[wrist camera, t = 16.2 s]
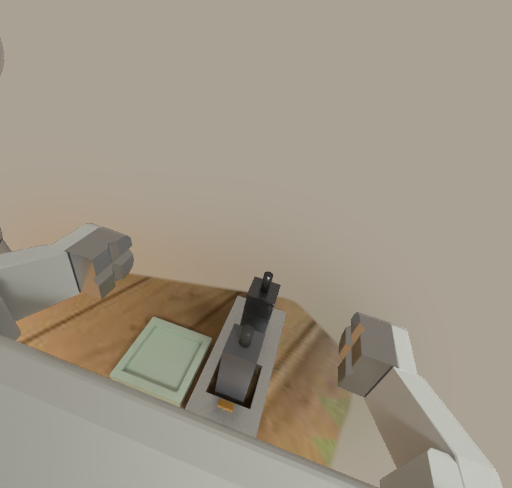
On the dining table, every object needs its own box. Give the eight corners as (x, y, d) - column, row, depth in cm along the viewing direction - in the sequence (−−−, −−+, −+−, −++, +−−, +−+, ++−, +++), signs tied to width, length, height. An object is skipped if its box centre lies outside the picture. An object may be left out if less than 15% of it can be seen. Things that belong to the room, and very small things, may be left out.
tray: (180, 408, 35) (180, 403, 34) (110, 380, 36) (109, 374, 35) (211, 343, 43) (212, 338, 42) (153, 322, 44) (153, 316, 43)
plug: (241, 406, 36) (260, 351, 28) (214, 395, 37) (225, 338, 29) (250, 378, 39) (269, 321, 31) (224, 369, 40) (237, 310, 32)
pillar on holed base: (251, 448, 33) (277, 395, 24) (183, 420, 34) (185, 360, 25) (282, 321, 49) (305, 263, 40) (235, 304, 50) (248, 244, 41)
